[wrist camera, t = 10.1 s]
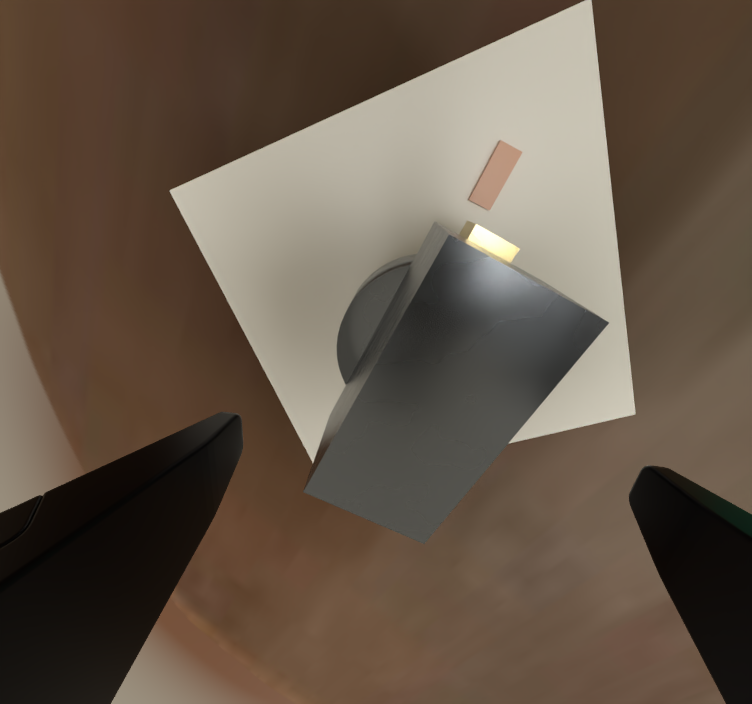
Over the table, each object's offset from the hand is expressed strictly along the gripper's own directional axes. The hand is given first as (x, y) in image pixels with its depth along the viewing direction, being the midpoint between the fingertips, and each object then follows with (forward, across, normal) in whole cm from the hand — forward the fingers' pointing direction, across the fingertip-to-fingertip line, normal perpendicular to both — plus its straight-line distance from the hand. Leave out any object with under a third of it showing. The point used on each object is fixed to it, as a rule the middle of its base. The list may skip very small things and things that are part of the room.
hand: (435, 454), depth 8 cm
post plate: (+12, 0, 0) cm, 12 cm away
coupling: (+7, 0, 0) cm, 7 cm away
